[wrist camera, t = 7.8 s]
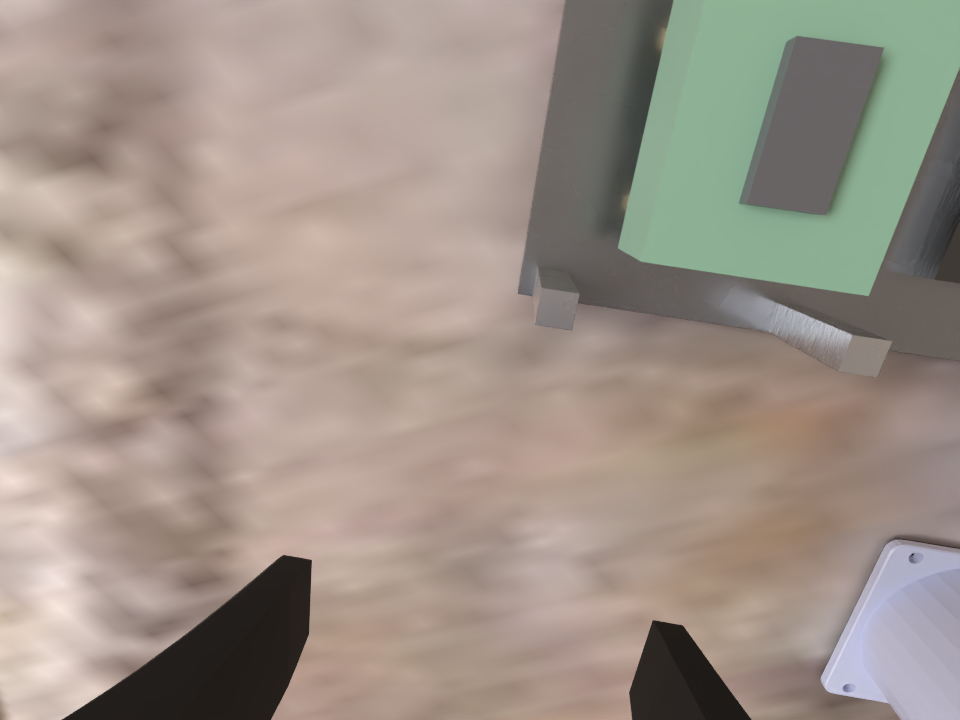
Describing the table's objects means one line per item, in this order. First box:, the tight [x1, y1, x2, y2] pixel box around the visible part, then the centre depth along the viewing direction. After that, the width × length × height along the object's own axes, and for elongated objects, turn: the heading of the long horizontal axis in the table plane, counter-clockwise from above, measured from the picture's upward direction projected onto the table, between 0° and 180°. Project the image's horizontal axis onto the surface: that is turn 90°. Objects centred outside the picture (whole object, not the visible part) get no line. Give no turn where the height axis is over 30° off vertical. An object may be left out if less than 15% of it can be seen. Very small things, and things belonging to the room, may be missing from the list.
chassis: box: [518, 0, 960, 377], centre depth 13 cm, size 18×12×5 cm, turn 82°
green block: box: [618, 0, 960, 296], centre depth 11 cm, size 5×8×3 cm, turn 172°
